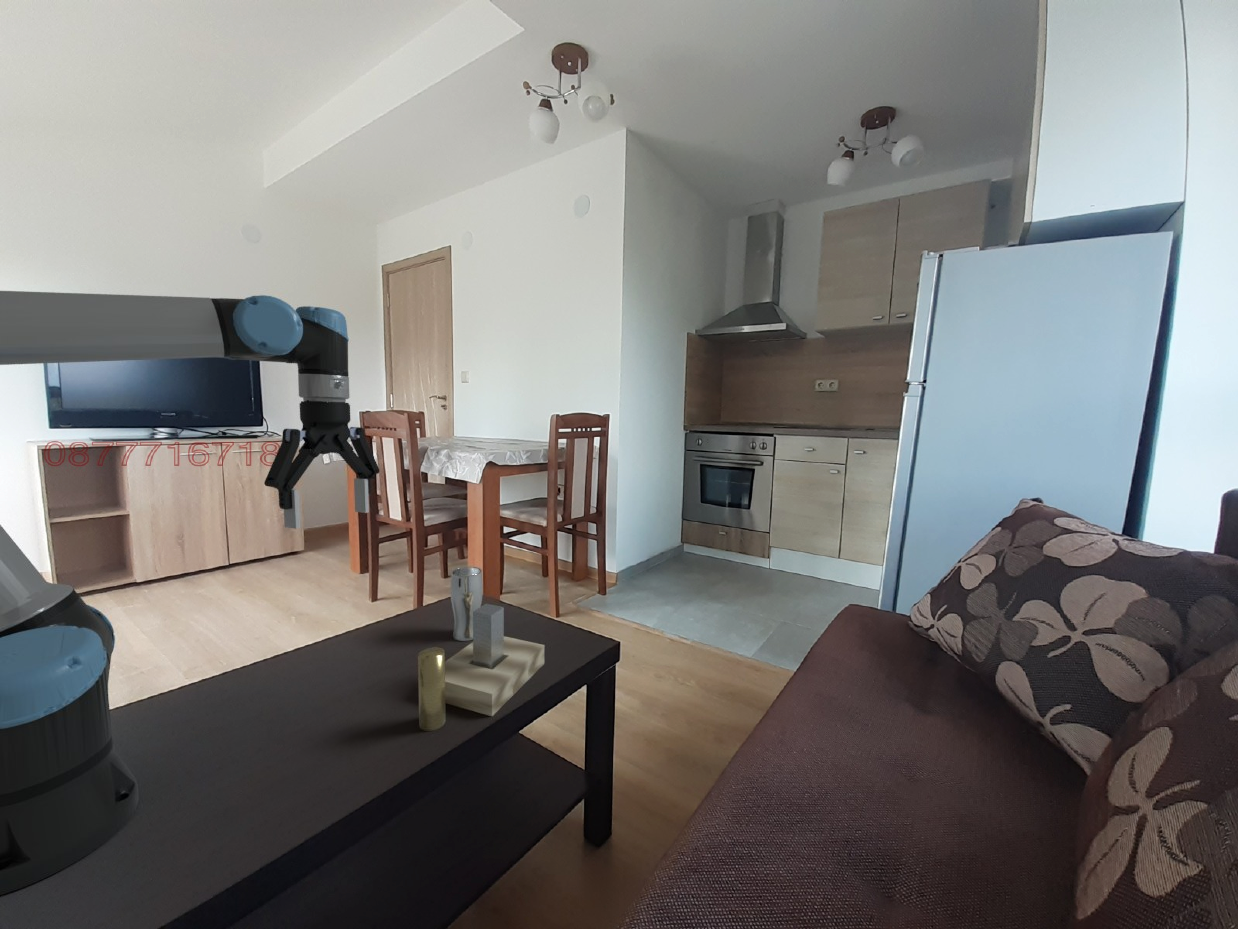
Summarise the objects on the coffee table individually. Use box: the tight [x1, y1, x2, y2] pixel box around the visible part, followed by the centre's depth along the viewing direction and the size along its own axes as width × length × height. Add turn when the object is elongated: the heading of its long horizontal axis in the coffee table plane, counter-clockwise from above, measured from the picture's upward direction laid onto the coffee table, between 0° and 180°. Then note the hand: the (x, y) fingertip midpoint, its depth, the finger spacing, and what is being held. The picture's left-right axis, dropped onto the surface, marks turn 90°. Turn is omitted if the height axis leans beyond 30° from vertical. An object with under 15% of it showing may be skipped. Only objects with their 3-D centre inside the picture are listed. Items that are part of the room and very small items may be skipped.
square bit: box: [472, 603, 505, 670], centre depth 89 cm, size 4×4×14 cm
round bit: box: [417, 646, 446, 732], centre depth 76 cm, size 4×4×12 cm
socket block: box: [445, 635, 545, 717], centre depth 90 cm, size 18×14×4 cm
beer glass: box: [449, 566, 484, 642], centre depth 106 cm, size 7×7×15 cm
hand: (329, 519), depth 85 cm, fingers open, 13 cm apart
